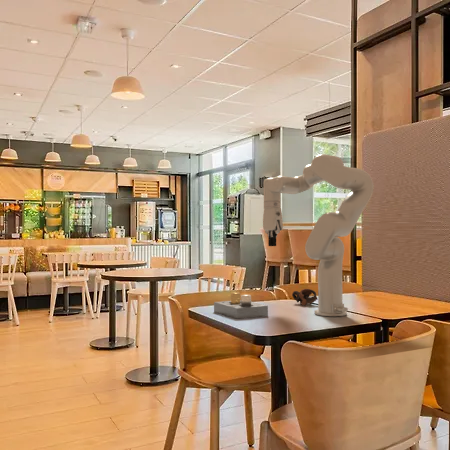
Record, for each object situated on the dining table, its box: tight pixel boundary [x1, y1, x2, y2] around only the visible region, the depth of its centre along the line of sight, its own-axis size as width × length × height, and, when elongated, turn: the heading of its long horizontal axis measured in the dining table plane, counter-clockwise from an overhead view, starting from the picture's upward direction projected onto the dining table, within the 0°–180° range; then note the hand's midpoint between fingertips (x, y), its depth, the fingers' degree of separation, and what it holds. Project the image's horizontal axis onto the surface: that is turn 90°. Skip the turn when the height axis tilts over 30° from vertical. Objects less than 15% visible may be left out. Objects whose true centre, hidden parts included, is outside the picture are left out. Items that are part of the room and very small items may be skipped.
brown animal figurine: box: [291, 288, 318, 306], centre depth 217 cm, size 12×10×8 cm
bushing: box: [230, 292, 241, 304], centre depth 196 cm, size 4×4×8 cm
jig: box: [213, 294, 269, 320], centre depth 192 cm, size 20×14×8 cm
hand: (272, 246), depth 213 cm, fingers closed
